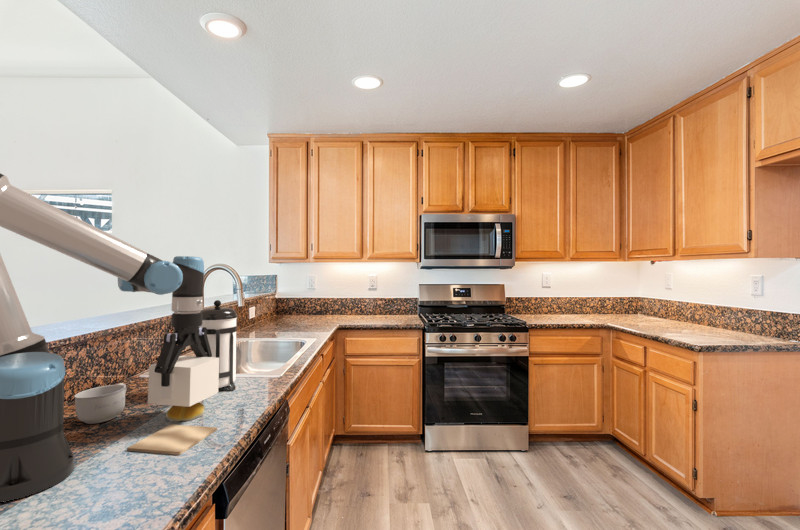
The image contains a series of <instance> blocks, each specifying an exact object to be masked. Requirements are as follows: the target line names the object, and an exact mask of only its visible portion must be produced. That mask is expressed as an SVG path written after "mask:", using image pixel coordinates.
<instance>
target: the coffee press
mask: <svg viewBox="0 0 800 530" xmlns="http://www.w3.org/2000/svg"><path fill="white" fill-rule="evenodd" d="M213 305H214V307H207V308H206V307H205V308H203V310H201V311H200V312H201V313H202V314H203V319H202V325H201V326H199V327H206V328H207V337H208V341H209V345H210V349H211V353H212V357H216V358H219V386H218V389H220V388H223V387H224V388H227V389H228V390H229V391H230V390H232V391H235V390H236V388H237V387H236V385H235V383H234V382H235V381H236V379H237V378H236V375H237V374H236V373H237V372H236V370H237V331H238V324H237V319H238V316H239V314H238V313H237V312H236V310H235V309H233V308H232V307H226V306H225V307H223V306H221V305H222V302H221V300H219V299H218V300H215V301H214V302H213ZM206 353H207V352H206Z"/></svg>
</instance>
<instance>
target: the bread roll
mask: <svg viewBox="0 0 800 530" xmlns="http://www.w3.org/2000/svg"><path fill="white" fill-rule="evenodd" d="M204 414H205V406H204V404H203V403H201V402H198V403H196V404H194V405H192V406H190V407H186V406H172V405H171V406H170V408H169V409H168V410H166V413H165V417H166V419H167V420H168V421H171V422H181V421H183V422H187V421H192V420H196V419H198V418H201V417H202V416H203V415H204Z"/></svg>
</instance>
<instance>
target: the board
mask: <svg viewBox="0 0 800 530" xmlns="http://www.w3.org/2000/svg"><path fill="white" fill-rule="evenodd" d="M216 431H218V427H216V426H215V427H214V426H213V427H212V426H199V425H187V424H186V425H184V424H172V423H171V424H169V425H167V426H165V427H163V428H161V429H159V430H158V431H156V432H154V433H152V434H150V435H148V436H147V437H144V438H143V439H141V440H139V441H137V442H135V443H134V444H132V445H130V446H129V447H127V448H126V451H127V452H128V451H130V452H141V453H154V454H163V455H164V454H165V455H174V456H175V455H178V456H180V455H182V454H183V453H185V452H187V451H188V450H190V449H191V448H192V447H194V446H196V445H197V444H198V443H200V442H202V441H203V440H204V439H206V438H207V437H209V436H211V434H213V433H215V432H216Z"/></svg>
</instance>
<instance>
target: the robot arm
mask: <svg viewBox="0 0 800 530" xmlns="http://www.w3.org/2000/svg"><path fill="white" fill-rule="evenodd" d="M0 227H1V228H3V229H5V230H8V231H10V232H11V233H15V234H16V235H20V236H22V237H24V238H26V239H29V240H31V241H33V242H35V243H38V244H40V245H42V246H45V247H47V248H49V249H52V250H54V251H56V252H58V253H61V254H63V255H66V256H68V257H70V258H71V259H72V258H73V259H75V260H77V261H80V262H82V263H84V264H86V265H88V266H91V267H93V268H95V269H98V270H100V271H103V272H105V273H106V274H109V275H112V276H114V277H116V278H117V286H118V288H119V289H118V290H120V291H121V292H128V293H129V292H132V293H138V292H139V293H140V292H146V293H152V294H155V295H159V296H163V295H166V294H171V293H172V294H171V312H172V313H171V318H170V319H171V321H170V322H171V323H170V325H171V328H174V330H173V333H164V335H163V343H162V347H161V349H160V353H159V356H158V359H157V361H156V363H157V364H156V367H155V370H154V371H155V372H156V373H161V375H162V376H161V386H162V398H164V399H172V398H173V393H174V373H171V372H172V370H173V368H174V366H175V364H176V362H177V360H178V358H179V356H181V354H182V351H184V350H185V349H186V348H187V347H190V348H191V350H192V351H193V354H194V356H196V357H212V353H211V349H210V345H209V341H208V337H207V328H206V327H199V326H201V325H202V319H203V314H202V313H201V312H200V311H201V310H203V309H204V306H203V305H204V298H203V297H204V280H205V261H204V259H203V258H202V257H200V256H186V255H185V256H184V255H183V256H181V255H177V256H176V255H175V256H174V258H173V260H172V261H167V260H162V259H160V258H158V257H156V256H155V255H152V254H150V253H148V252H146V251H144V250H142V249H141V248H139V247H136V246H135V245H133V244H130V243H128V242H126V241H125V240H122V239H120V238H118V237H116V236H114V235H112V234H110V233H108V232H106V231H104V230H102V229H100V228H98V227H96V226H94V225H92V224H90V223H88V222H86V221H84V220H82V219H81V218H78V217H76V216H74V215H72V214H70V213H68V212H67V211H64V210H62V209H60V208H58V207H56V206H54V205H52V204H50V203H48V202H46V201H43V200H42V199H40V198H39V197H36V196H34V195H32V194H29V193H28V192H25V191H24V190H22V189H20V188H17V187H16V186H14V185H12V184H11V183H10V181H9V178H8V176H7V175H5V174H2V173H1V172H0ZM206 352H207V353H206ZM161 367H162V368H161ZM167 368H168V369H167ZM66 371H67V369H66V366H65V360H64V358H63V357H62V356H61V355H60V354H57V353H54V352H51V351H50V348H49V346H48V344H47V340H46V339H45V336H44V335H40V334H37V333H34V332H33V331H32V328H31V326H30V324H29V321H28V318H27V317H26V314H25V311H24V309H23V306H22V304H21V301H20V299H19V297H18V294H17V292H16V289H15V287H14V284H13V282H12V279H11V277H10V274H9V271H8V270H7V267H6V265H5V262H4V259H3V257H2V255H1V253H0V502H3V501H8V500H13V501H15V500H14V499H17V500H20V499H24V498H26V497H25V496H27V497H29V495H30V496H32V495H35V494H37V492H38V493H40V492H43V491H45V490H47V489H50V488H51V486H52V487H53V485H54V486H55V484H56V485H57V484H59V483H61V482H62V481H64V480H66V479H67V478H68V477H69V476H71V475H72V474H73V472H74V470H75V456H74V453H73V452H72V449H71V446H70V443H69V441H68V440H67V437H66V434H65V432H64V405H65V402H64V401H65V399H64V398H65V376H66ZM66 477H67V478H66ZM49 487H50V488H49ZM44 489H45V490H44ZM42 490H43V491H42ZM31 494H32V495H31ZM19 498H20V499H19Z"/></svg>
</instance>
